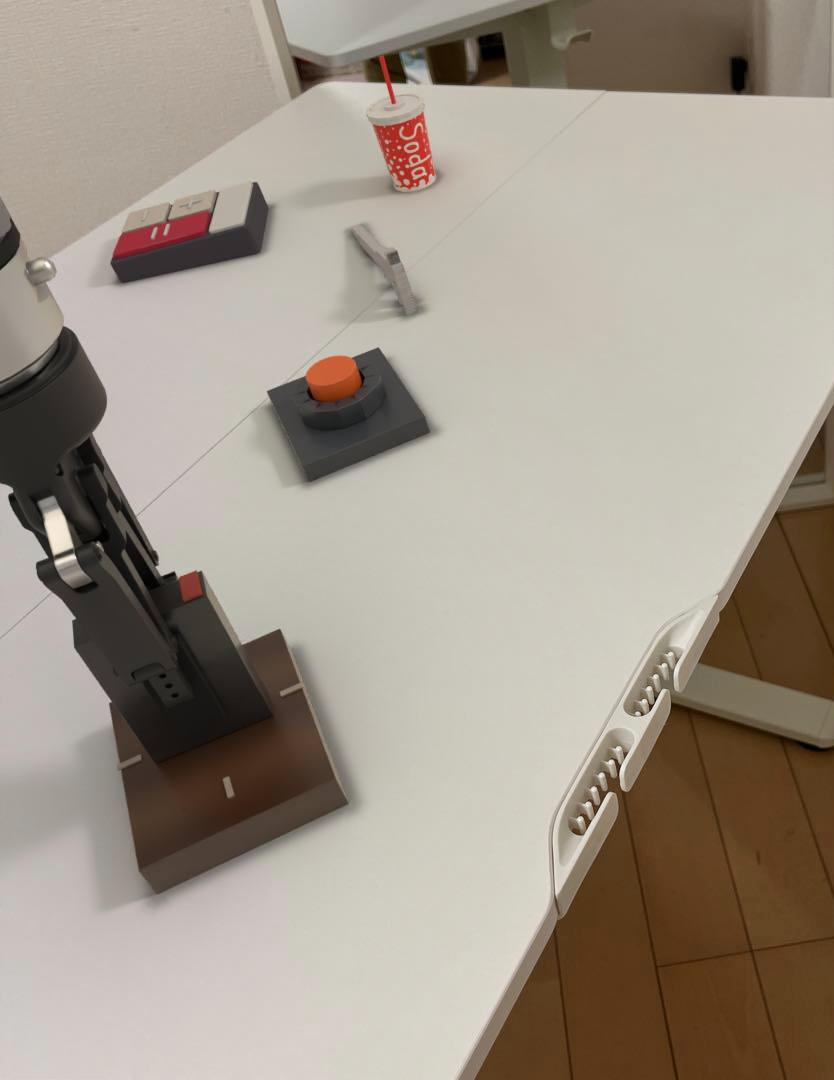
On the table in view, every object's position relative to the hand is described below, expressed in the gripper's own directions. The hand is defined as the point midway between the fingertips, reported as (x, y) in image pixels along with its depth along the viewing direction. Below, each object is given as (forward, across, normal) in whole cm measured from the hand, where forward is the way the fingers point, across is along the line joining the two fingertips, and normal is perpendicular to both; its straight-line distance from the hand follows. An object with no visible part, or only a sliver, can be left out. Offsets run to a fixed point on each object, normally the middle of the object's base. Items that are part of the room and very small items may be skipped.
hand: (198, 705), depth 62 cm
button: (+1, +29, -15) cm, 32 cm away
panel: (+5, -1, 0) cm, 5 cm away
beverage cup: (+5, +68, -32) cm, 75 cm away
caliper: (+5, +51, -24) cm, 57 cm away
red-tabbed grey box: (+2, 0, 0) cm, 2 cm away
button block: (+5, +29, -15) cm, 33 cm away
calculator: (+5, +70, -8) cm, 71 cm away
